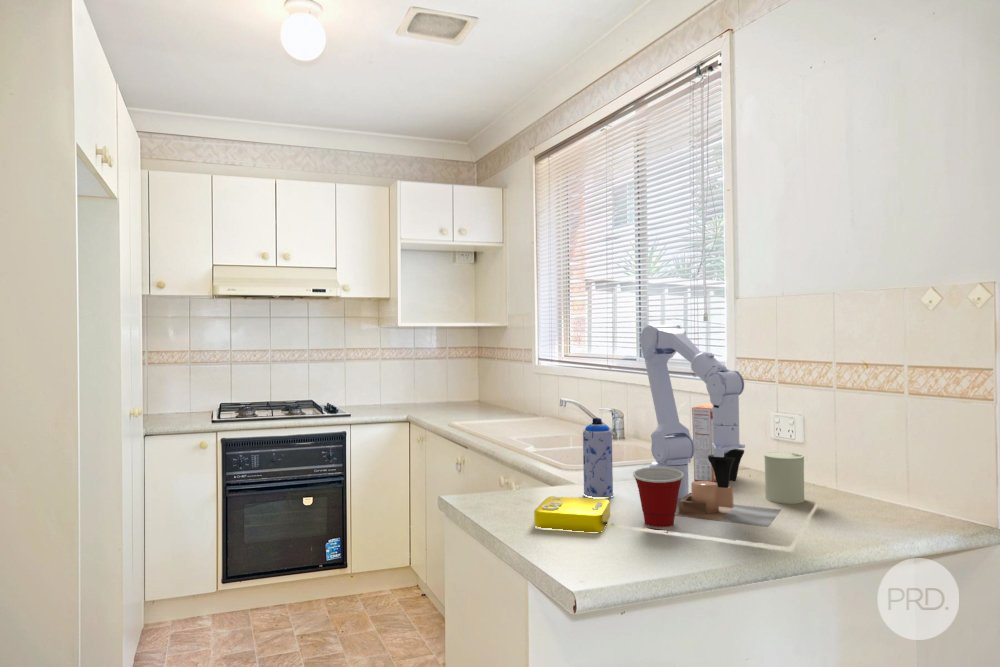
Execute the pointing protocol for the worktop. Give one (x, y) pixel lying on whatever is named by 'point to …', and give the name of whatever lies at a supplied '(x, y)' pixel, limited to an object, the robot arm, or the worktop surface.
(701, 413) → the cracker box
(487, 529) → the worktop surface
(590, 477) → the aerosol can
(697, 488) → the capsule with rectangular tab
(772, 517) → the cradle
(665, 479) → the plastic cup
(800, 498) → the can
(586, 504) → the element tile
